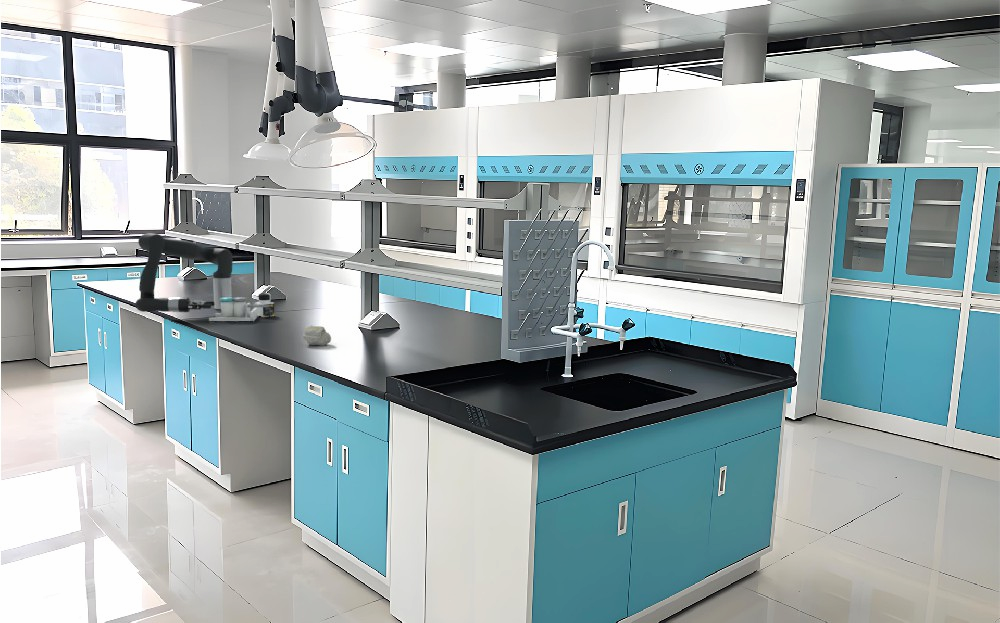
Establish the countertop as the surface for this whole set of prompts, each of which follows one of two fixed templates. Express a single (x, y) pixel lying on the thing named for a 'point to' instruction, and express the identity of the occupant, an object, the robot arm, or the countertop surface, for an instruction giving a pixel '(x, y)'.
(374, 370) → the countertop surface
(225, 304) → the jar
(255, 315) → the lane
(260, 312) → the medicine bottle
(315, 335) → the grey lumpy stone
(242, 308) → the stock jar
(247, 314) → the follower
